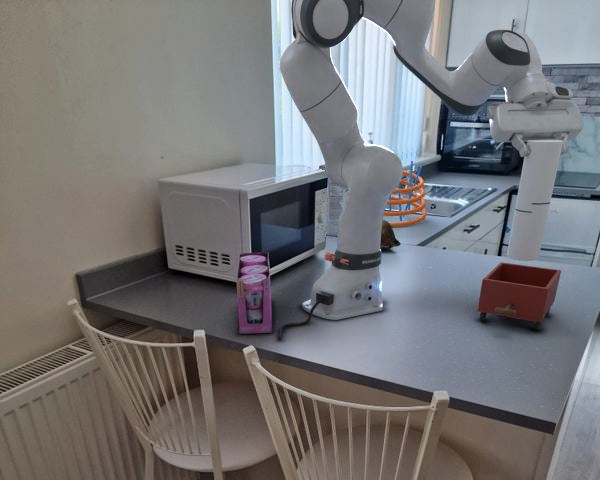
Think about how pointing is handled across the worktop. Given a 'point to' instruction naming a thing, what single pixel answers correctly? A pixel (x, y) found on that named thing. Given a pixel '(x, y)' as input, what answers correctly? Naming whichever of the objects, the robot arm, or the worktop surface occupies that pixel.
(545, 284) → the toy cart
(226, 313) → the worktop surface
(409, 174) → the orange spiral coil
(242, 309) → the gum box
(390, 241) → the bronze bell
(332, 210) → the juice carton
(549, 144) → the cylindrical container
